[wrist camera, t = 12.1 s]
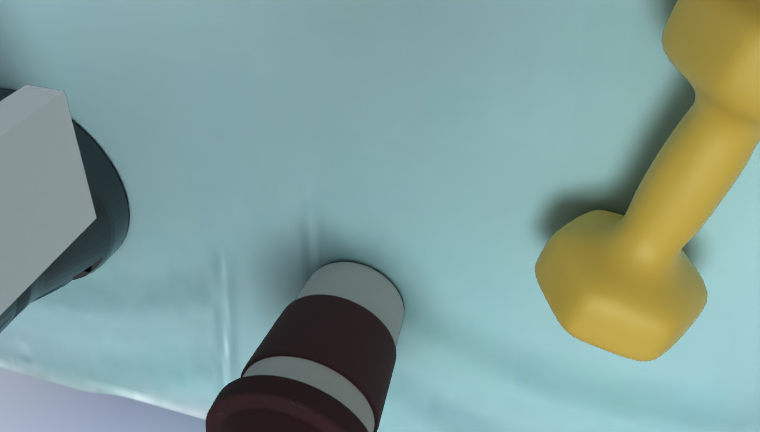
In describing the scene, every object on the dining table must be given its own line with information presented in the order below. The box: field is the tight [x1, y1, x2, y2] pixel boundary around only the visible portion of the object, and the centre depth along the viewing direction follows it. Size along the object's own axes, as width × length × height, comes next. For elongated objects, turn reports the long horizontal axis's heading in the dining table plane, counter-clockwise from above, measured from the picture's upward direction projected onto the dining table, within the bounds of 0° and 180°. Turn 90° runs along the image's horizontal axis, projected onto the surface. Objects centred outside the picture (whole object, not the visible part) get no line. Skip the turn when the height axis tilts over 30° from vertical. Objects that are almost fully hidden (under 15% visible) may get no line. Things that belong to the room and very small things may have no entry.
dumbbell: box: [535, 0, 760, 361], centre depth 33 cm, size 19×9×8 cm, turn 165°
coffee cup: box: [206, 262, 404, 432], centre depth 44 cm, size 10×10×15 cm
